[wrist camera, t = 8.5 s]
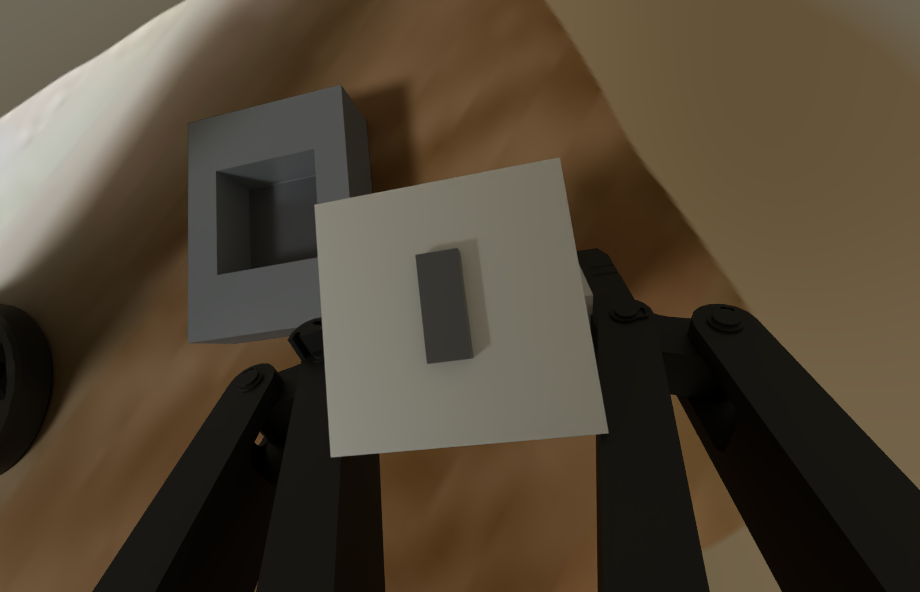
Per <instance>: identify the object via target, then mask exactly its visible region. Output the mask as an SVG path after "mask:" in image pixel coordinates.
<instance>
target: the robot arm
mask: <svg viewBox="0 0 920 592" xmlns="http://www.w3.org/2000/svg"><path fill="white" fill-rule="evenodd" d="M576 252H577V257H578V263H579V269H580V274H581V280H582V285H583V291H584V297H585V302H586V308H587V314H588V319H589V325H590V331H591V336H592V342H593V347H594V353H595V359H596V364H597V370H598V376H599V381H600V387H601V392H602V398H603V404H604V409H605V415H606V421H607V426H608V432H609V433H606V434H596V487H597V571H598V592H710V591H709V586H708V582H707V576H706V571H705V566H704V561H703V556H702V551H701V546H700V541H699V536H698V531H697V526H696V521H695V516H694V511H693V506H692V501H691V496H690V491H689V486H688V481H687V476H686V471H685V466H684V461H683V456H682V451H681V446H680V441H679V436H678V431H677V426H676V421H675V416H674V411H673V406H672V401H671V396H670V394H672V395H677V397H678V399H679V401H680V403H681V405H682V407H683V408H684V410H685V412H686V414H687V416H688V418H689V420H690V421H691V423H692V425H693V427H694V429H695V431H696V433H697V434H698V436H699V438H700V440H701V442H702V444H703V446H704V447H705V449H706V451H707V453H708V455H709V457H710V459H711V460H712V462H713V464H714V466H715V468H716V470H717V472H718V474H719V475H720V477H721V479H722V481H723V483H724V485H725V487H726V488H727V490H728V492H729V494H730V496H731V498H732V500H733V501H734V503H735V505H736V507H737V509H738V511H739V513H740V514H741V516H742V518H743V520H744V522H745V524H746V526H747V527H748V529H749V531H750V533H751V535H752V537H753V539H754V540H755V542H756V544H757V546H758V548H759V550H760V551H761V553H762V555H763V557H764V559H765V561H766V563H767V564H768V566H769V568H770V570H771V572H772V574H773V576H774V578H775V580H776V581H777V583H778V585H779V587H780V589H781V591H782V592H920V490H919V489H918V488H917V487H916V486H915V485H914V484H913V483H912V482H911V480H910V479H909V478H908V477H907V476H906V475H905V474H904V473H903V472H902V471H901V470H900V469H899V468H898V467H897V466H896V465H895V464H894V463H893V462H892V460H891V459H890V458H889V457H888V456H887V455H886V454H885V453H884V452H883V451H882V450H881V449H880V448H879V447H878V446H877V445H876V444H875V443H874V442H873V440H871V438H870V437H869V436H868V435H867V434H866V433H865V432H864V431H863V430H862V429H861V428H860V427H859V426H858V425H857V424H856V423H855V422H854V420H852V419H851V417H850V416H849V415H848V414H847V413H846V412H845V411H844V410H843V409H842V408H841V407H840V406H839V405H838V404H837V403H836V402H835V401H834V399H833V398H832V397H831V396H830V395H829V394H828V393H827V392H826V391H825V390H824V389H823V388H822V387H821V386H820V385H819V384H818V383H817V382H816V381H815V379H814V378H813V377H812V376H811V375H810V374H809V373H808V372H807V371H806V370H805V369H804V368H803V367H802V366H801V365H800V364H799V363H798V362H797V361H796V359H795V358H793V356H792V355H791V354H790V353H789V352H788V351H787V350H786V349H785V348H784V347H783V346H782V345H781V344H780V343H779V342H778V341H777V339H776V338H775V337H773V335H772V334H771V333H770V332H769V331H768V330H767V329H766V328H765V327H764V326H763V325H762V324H761V323H760V322H759V321H758V319H757V318H755V317H754V316H753V315H751V314H750V313H749V312H747V311H745V310H742V309H740V308H738V307H735V306H730V305H725V304H709V305H705V306H701V307H699V308H698V309H696V310H695V311H694V312H693V315H692V318H691V319H690V318H678V317H667V316H661V315H657V314H654V313H653V311H652V310H651V308H650V307H648V306H647V305H646V304H644V303H643V302H640V301H637V300H635V299H634V298H633V296H632V294H631V293H630V291H629V289H628V288H627V286H626V284H625V283H624V281H623V279H622V278H621V276H620V274H618V271H617V269H616V268H615V266H614V265H613V263H612V261H611V259H610V258H609V256H608V255H607V254H605V253H604V252H602V251H601V250H599V249H597V248H595V249H589V250H583V251H576ZM288 341H289V343H290V344H291V346H292V347H293V349H294V350H295V351H296V353H297V354H298V356H299V357H300V359H301V360H302V361H301V364H299V365H296V366H294V367H291V368H288V369H286V370H283V371H280V372H277V371H276V370H275V368H274V367H273V366H272V365H270V364H262V363H261V364H258V365H254V366H252V367H250V368H248V369H246V370H244V371H243V372H241V373H240V374H239V375H238V376H236V377H235V378H234V379H233V381H232V382H231V383H230V384H229V386H228V387H227V389H226V390H225V392H224V393H223V395H222V396H221V398H220V399H219V401H218V402H217V404H216V405H215V407H214V408H213V410H212V411H211V413H210V414H209V416H208V417H207V419H206V420H205V422H204V424H203V425H202V427H201V428H200V430H199V431H198V433H197V434H196V436H195V437H194V439H193V440H192V442H191V443H190V445H189V446H188V448H187V449H186V451H185V452H184V454H183V455H182V457H181V458H180V460H179V461H178V463H177V464H176V466H175V467H174V469H173V470H172V472H171V473H170V475H169V476H168V478H167V479H166V481H165V483H164V484H163V486H162V487H161V489H160V490H159V492H158V493H157V495H156V496H155V498H154V499H153V501H152V502H151V504H150V505H149V507H148V508H147V510H146V511H145V513H144V514H143V516H142V517H141V519H140V520H139V522H138V523H137V525H136V526H135V528H134V529H133V531H132V532H131V534H130V535H129V537H128V539H127V540H126V542H125V543H124V545H123V546H122V548H121V549H120V551H119V552H118V554H117V555H116V557H115V558H114V560H113V561H112V563H111V564H110V566H109V567H108V569H107V570H106V572H105V573H104V575H103V576H102V578H101V579H100V581H99V582H98V584H97V585H96V587H95V588H94V590H93V591H92V592H254V590H255V588H256V585H257V582H258V585H257V590H256V592H385V576H384V553H383V530H382V507H381V484H380V461H379V453H376V454H365V455H353V456H342V457H331V454H330V439H329V423H328V408H327V392H326V377H325V361H324V346H323V331H322V317H319V318H314V319H312V320H309V321H307V322H305V323H303V324H302V325H300V326H299V327H297V328H296V329H295V330H294V331H293V332H292V333H291V335H290V337H289V339H288ZM50 387H51V362H50V355H49V351H48V347H47V344H46V341H45V338H44V336H43V334H42V332H41V330H40V329H39V327H38V326H37V324H36V323H35V322H34V320H33V319H32V318H31V317H30V316H28V315H27V314H26V313H25V312H23V311H22V310H20V309H18V308H16V307H13V306H10V305H5V304H0V474H2V473H3V472H4V471H6V470H7V469H8V468H10V467H11V466H12V465H13V464H14V463H15V462H16V461H17V460H18V459H19V458H20V457H21V456H22V454H23V453H24V452H25V451H26V449H27V448H28V446H29V445H30V444H31V442H32V440H33V439H34V437H35V435H36V433H37V431H38V429H39V427H40V425H41V422H42V420H43V417H44V414H45V411H46V408H47V404H48V400H49V394H50ZM259 432H260V433H261V434H262V435H263V436H264V437H263V439H262V441H261V443H260V444H259V445H256V444H255V443H254V442H255V440H256V438H257V436H258V434H259Z"/></svg>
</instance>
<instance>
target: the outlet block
mask: <svg viewBox="0 0 920 592" xmlns="http://www.w3.org/2000/svg"><path fill="white" fill-rule="evenodd" d="M368 194H373V192H372V181H371V169H370V158H369V146H368V135H367V123H366V120H365V118H364V117H363V115H362V114H361V113H360V111H359V110H358V108H357V107H356V105H355V104H354V103H353V101H352V100H351V98H350V97H349V95H348V94H347V92H346V91H345V90H344V88H343V87H342V85H338V86H334V87H330V88H326V89H322V90H318V91H314V92H310V93H306V94H302V95H298V96H294V97H290V98H286V99H282V100H278V101H274V102H270V103H266V104H262V105H258V106H254V107H250V108H246V109H243V110H239V111H235V112H231V113H227V114H223V115H219V116H215V117H211V118H207V119H203V120H199V121H195V122H191V123H188V343H218V344H237V343H244V342H251V341H258V340H265V339H272V338H279V337H287V336H290V335H291V333H292V332H293V331H294V330H295V329H296V328H297V327H299V326H300V325H302V324H303V323H305V322H307V321H309V320H312V319H314V318H319V317H322V315H321V300H320V284H319V269H318V253H317V238H316V222H315V207H314V205H316V204H321V203H326V202H331V201H336V200H342V199H347V198H352V197H357V196H362V195H368Z"/></svg>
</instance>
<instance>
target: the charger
mask: <svg viewBox="0 0 920 592" xmlns="http://www.w3.org/2000/svg"><path fill="white" fill-rule="evenodd" d="M314 207H315V222H316V238H317V253H318V269H319V284H320V300H321V315H322V331H323V346H324V361H325V377H326V392H327V408H328V423H329V439H330V454H331V457H342V456H353V455H365V454H376V453H388V452H399V451H411V450H422V449H434V448H445V447H457V446H468V445H480V444H491V443H503V442H514V441H526V440H537V439H549V438H560V437H572V436H583V435H595V434H606V433H609V432H608V426H607V421H606V415H605V409H604V404H603V398H602V392H601V387H600V381H599V376H598V370H597V364H596V359H595V353H594V347H593V342H592V336H591V331H590V325H589V319H588V314H587V308H586V302H585V297H584V291H583V285H582V280H581V274H580V269H579V263H578V257H577V252H576V246H575V240H574V235H573V229H572V224H571V218H570V212H569V207H568V201H567V195H566V190H565V184H564V179H563V173H562V167H561V162H560V157H559V158H554V159H549V160H544V161H539V162H534V163H528V164H523V165H518V166H513V167H508V168H502V169H497V170H492V171H487V172H482V173H476V174H471V175H466V176H461V177H456V178H451V179H445V180H440V181H435V182H430V183H425V184H419V185H414V186H409V187H404V188H399V189H393V190H388V191H383V192H378V193H373V194H368V195H362V196H357V197H352V198H347V199H342V200H336V201H331V202H326V203H321V204H316V205H314Z"/></svg>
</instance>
